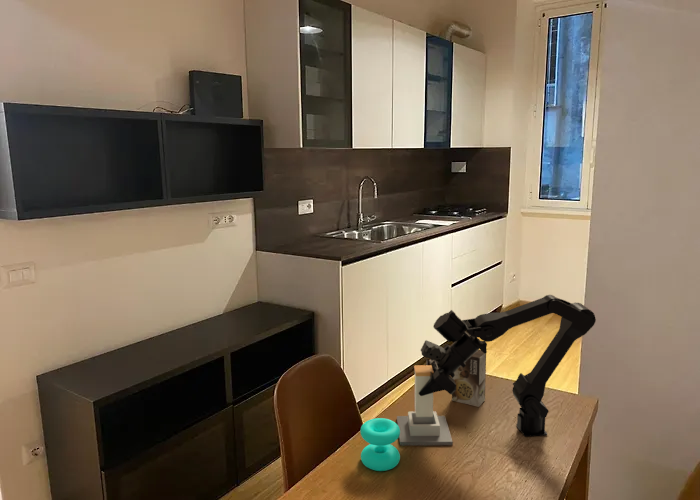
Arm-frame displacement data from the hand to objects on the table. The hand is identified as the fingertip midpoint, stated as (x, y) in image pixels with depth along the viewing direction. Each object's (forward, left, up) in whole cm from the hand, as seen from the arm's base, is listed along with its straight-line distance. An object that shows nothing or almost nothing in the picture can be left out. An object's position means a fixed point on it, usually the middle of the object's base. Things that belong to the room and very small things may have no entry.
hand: (418, 390), depth 150 cm
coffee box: (-19, -17, -13) cm, 29 cm away
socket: (-1, 0, -12) cm, 13 cm away
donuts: (+13, +13, -13) cm, 22 cm away
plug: (-1, 0, -7) cm, 7 cm away
